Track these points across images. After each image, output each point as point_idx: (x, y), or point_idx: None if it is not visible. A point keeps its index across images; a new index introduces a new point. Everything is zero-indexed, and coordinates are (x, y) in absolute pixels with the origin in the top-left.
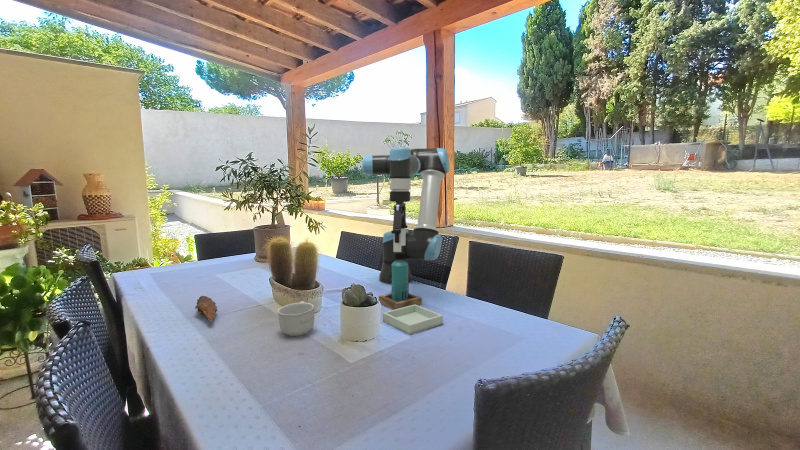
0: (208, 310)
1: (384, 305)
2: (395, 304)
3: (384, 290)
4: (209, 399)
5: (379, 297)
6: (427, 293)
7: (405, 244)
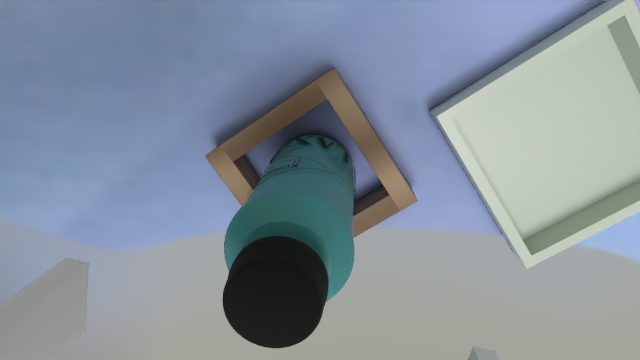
0: None
1: None
2: (406, 205)
3: (101, 221)
4: None
5: None
6: (137, 5)
7: (62, 262)
